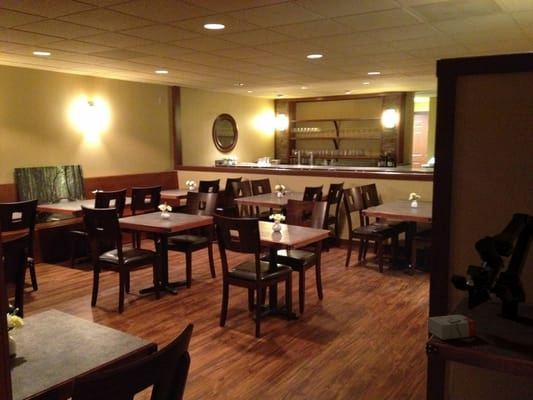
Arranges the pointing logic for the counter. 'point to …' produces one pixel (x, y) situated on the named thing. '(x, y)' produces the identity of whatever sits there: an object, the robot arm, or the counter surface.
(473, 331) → the ink box
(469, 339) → the mat
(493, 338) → the counter surface
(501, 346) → the counter surface
